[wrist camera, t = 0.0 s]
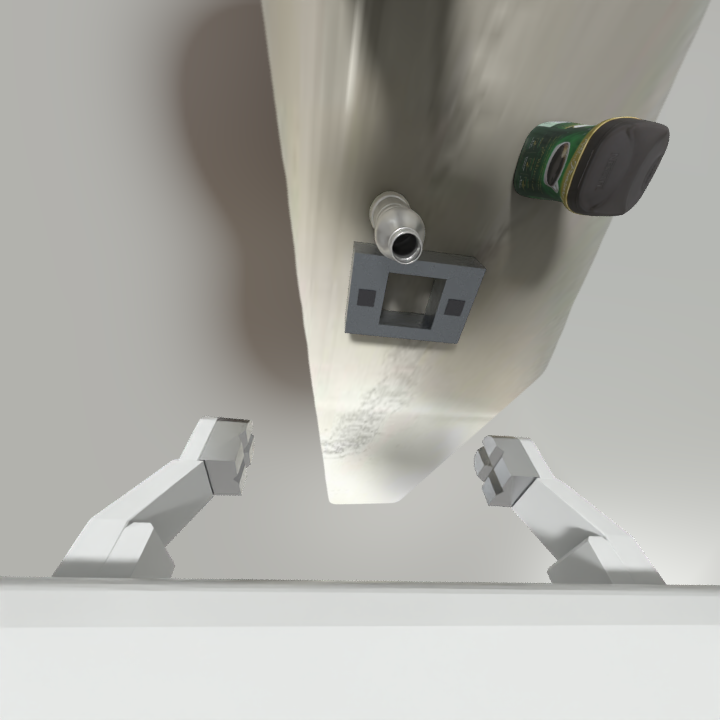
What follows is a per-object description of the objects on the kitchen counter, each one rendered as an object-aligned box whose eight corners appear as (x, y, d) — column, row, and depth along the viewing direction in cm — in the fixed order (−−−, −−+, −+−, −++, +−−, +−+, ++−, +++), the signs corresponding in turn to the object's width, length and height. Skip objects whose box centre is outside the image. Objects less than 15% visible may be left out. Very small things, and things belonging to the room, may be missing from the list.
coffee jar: (552, 197, 50) (639, 225, 35) (505, 194, 49) (572, 222, 35) (581, 122, 44) (699, 118, 29) (528, 118, 44) (620, 113, 29)
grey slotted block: (354, 241, 53) (354, 252, 48) (474, 257, 55) (486, 269, 50) (345, 317, 62) (344, 333, 57) (448, 327, 64) (457, 344, 59)
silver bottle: (385, 240, 53) (401, 287, 37) (360, 208, 50) (365, 245, 34) (415, 213, 51) (447, 252, 35) (391, 178, 48) (412, 202, 32)
